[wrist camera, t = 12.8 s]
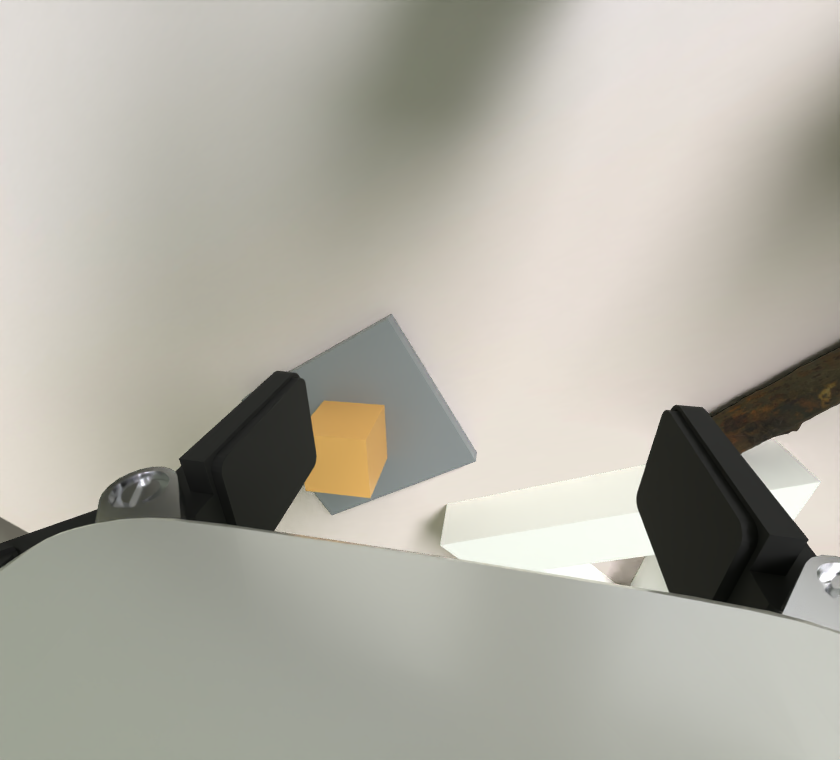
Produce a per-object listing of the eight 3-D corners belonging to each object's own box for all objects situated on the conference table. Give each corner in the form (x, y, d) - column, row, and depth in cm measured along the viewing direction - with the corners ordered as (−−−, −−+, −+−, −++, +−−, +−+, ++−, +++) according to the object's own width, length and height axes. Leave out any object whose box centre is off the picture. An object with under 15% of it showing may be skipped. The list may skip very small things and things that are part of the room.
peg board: (249, 393, 43) (217, 420, 38) (391, 313, 36) (374, 333, 31) (336, 505, 47) (317, 542, 42) (476, 452, 41) (473, 488, 36)
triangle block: (770, 435, 36) (821, 481, 30) (793, 633, 44) (836, 699, 39) (447, 500, 45) (439, 545, 39) (518, 654, 53) (520, 709, 48)
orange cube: (323, 400, 40) (296, 433, 34) (384, 405, 39) (365, 439, 33) (330, 452, 42) (305, 490, 37) (387, 457, 41) (370, 498, 36)
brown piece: (702, 450, 37) (728, 483, 33) (678, 419, 36) (701, 449, 32) (967, 319, 29) (1045, 340, 25) (945, 275, 29) (1020, 291, 24)
